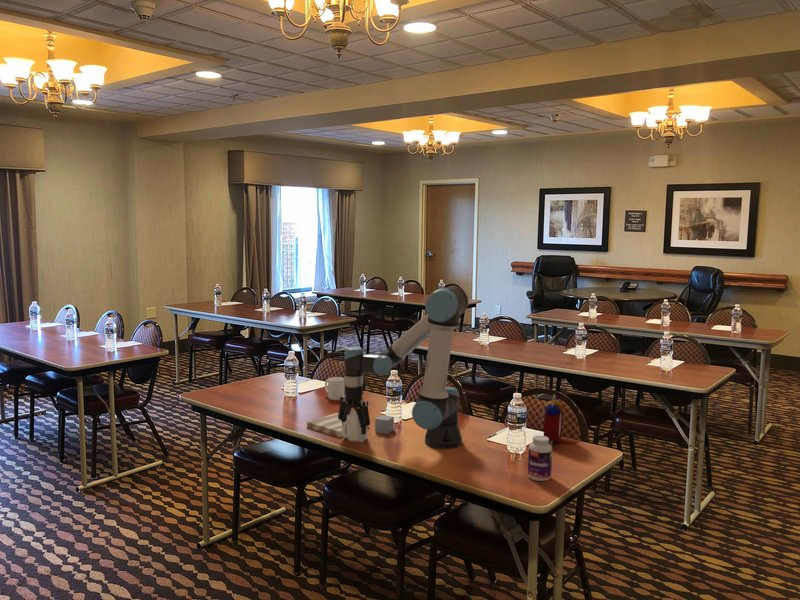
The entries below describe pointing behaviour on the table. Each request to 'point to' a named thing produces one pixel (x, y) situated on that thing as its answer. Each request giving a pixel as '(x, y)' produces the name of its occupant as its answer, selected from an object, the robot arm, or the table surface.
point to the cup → (335, 388)
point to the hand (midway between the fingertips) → (353, 439)
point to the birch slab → (327, 425)
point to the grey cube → (384, 424)
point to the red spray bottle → (553, 421)
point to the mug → (352, 427)
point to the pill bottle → (540, 459)
